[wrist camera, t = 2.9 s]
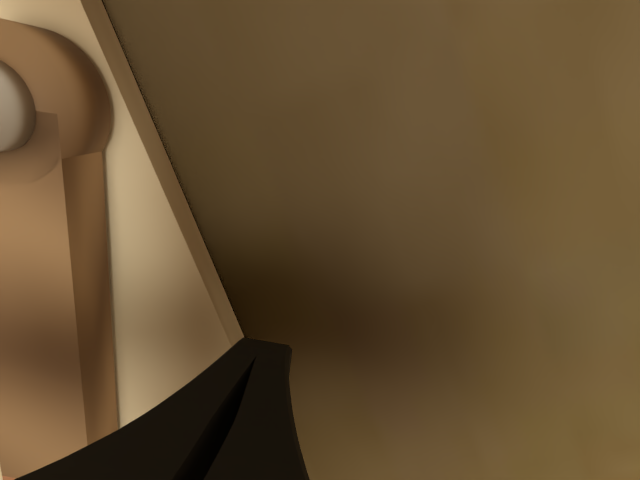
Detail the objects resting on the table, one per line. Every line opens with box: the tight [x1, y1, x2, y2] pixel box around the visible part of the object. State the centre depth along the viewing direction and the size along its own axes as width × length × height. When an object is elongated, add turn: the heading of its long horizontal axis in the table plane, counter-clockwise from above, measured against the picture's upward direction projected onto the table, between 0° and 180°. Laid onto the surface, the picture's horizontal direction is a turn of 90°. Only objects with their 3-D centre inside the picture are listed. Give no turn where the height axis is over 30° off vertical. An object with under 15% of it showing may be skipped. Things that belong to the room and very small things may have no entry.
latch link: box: [0, 18, 118, 480], centre depth 11 cm, size 15×4×2 cm, turn 173°
